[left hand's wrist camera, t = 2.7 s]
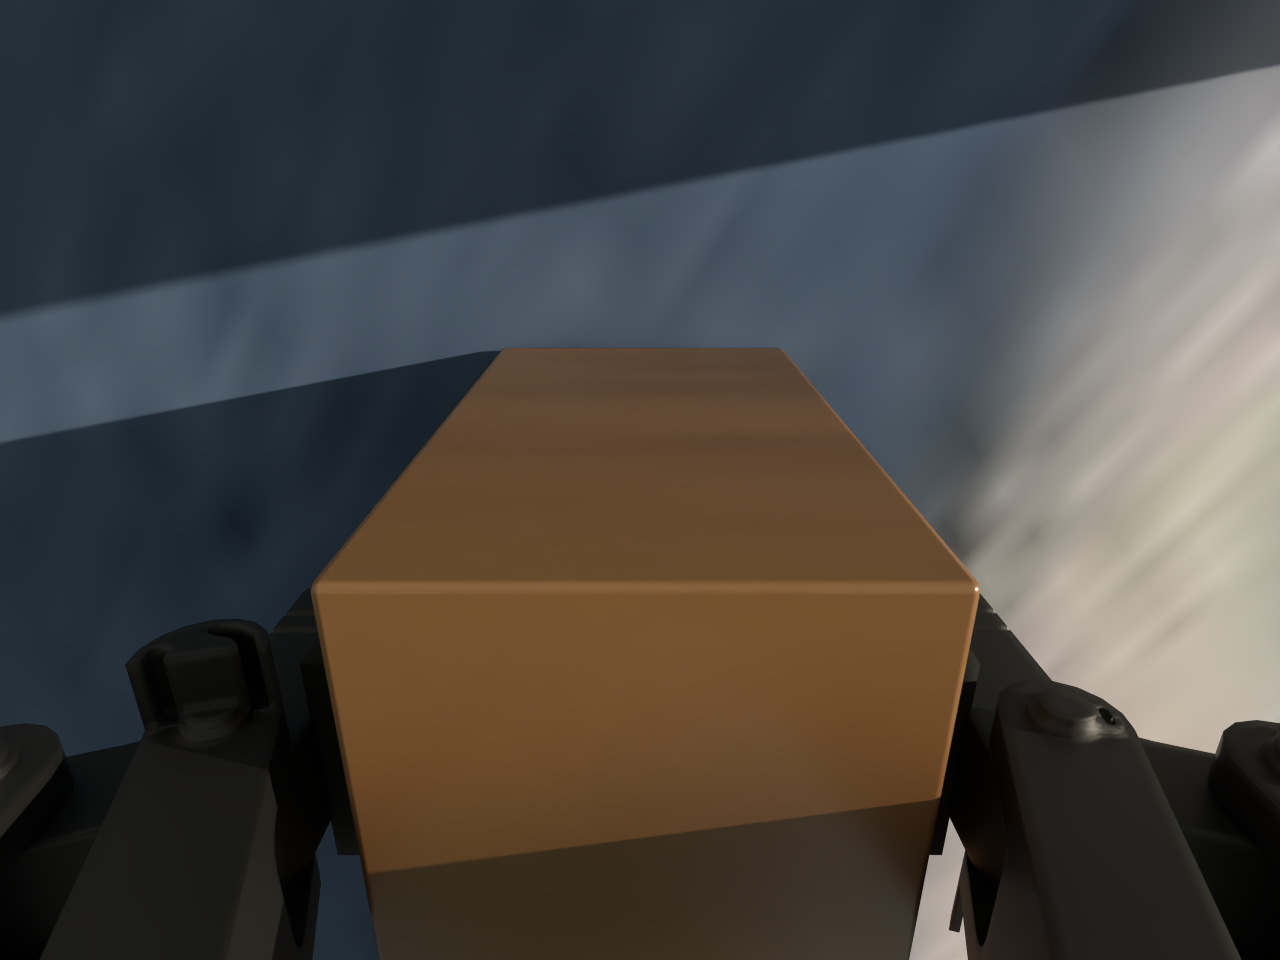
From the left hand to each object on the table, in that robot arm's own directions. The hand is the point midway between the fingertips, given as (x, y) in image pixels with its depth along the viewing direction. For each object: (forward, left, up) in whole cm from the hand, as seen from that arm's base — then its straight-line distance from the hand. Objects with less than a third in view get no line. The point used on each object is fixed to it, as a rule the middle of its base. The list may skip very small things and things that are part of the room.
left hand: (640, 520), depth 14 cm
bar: (+6, +4, -1) cm, 8 cm away
